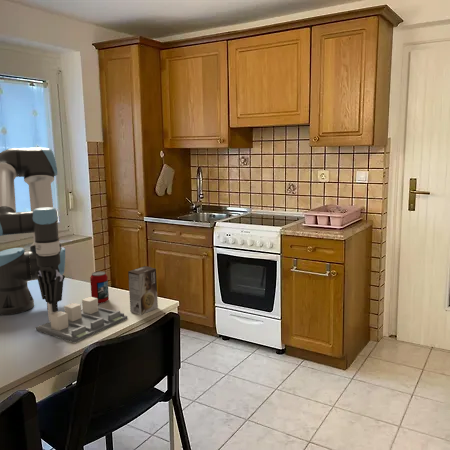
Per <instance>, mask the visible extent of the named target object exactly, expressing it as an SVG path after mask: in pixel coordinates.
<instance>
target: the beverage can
mask: <svg viewBox="0 0 450 450" xmlns="http://www.w3.org/2000/svg"><path fill="white" fill-rule="evenodd" d="M89 279H90V281H89V282H90V294H91V296H90V297H94V298H98V305H100V304H105V303H106V302H107V301H109V298H110V296H109V282H108V281H109V280H108V279H109V278H108V274H107V273H106V271H101V270H100V271H94V272H92V273H91V275H90V277H89Z"/></svg>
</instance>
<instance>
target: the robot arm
mask: <svg viewBox="0 0 450 450" xmlns="http://www.w3.org/2000/svg"><path fill="white" fill-rule="evenodd" d="M57 167H58V166H57V161H56V157H55V154H54V152H53V151H52V149H51V148H48V147H20V148H17V147H13V148H12V147H11V148H8V149H5V150H2V151H1V152H0V237H1V236H10V235H11V236H12V235H19V234H20V235H22V234H32V236H33V242H32V243H31V245H30V246H29V247H30V248H29V249H30V250H28V251H25V248H24V247H12V248H8V249H4V250H1V251H0V315H1V316H3V315H4V316H5V315H6V316H7V315H15V314H21V313H23V312H26V311H29V310H31V309H32V308H34V306H35V302H34V301H35V300H34V297H33V295H32V293H31V291H30V289H29V286H28V281H36V280H37V281H38V286H39V291H40V295H41V299H42V300H45V302H46V307H47V315H48V322H51V320H50V315H51V314H53V313H56V312H59V307H58V303H59V302H61V301H62V300H63V292H64V290H63V289H64V281H65V279H66V277H65V271H66V268H65V267H66V248H65V247H62V243H61V242H60V240H59V239H60V237H59V224H58V218H59V217H58V214H57V209H56V208H55V207H54V203H53V201H54V200H53V192H52V191H53V190H52V183H53V182H54V181H55V177H56V176H57V175H58V168H57ZM16 178H23V182H24V183H26V184H27V185H28V193H29V202H30V203H29V205H30V211H18V212H17V207H16V192H15V190H16V189H15V179H16Z"/></svg>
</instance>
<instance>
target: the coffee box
mask: <svg viewBox="0 0 450 450" xmlns="http://www.w3.org/2000/svg"><path fill="white" fill-rule="evenodd" d="M127 278H128V289H129V290H128V291H129V310H130V312H131V313H134V314H136V315H140V314H141V315H142V316H143V315H145V314H147V313H149V312H151V311H153V310H156V309H158V308H159V305H158V303H159V302H158V286H157V285H158V284H157V283H158V282H157V268H156V267H155V268H154V267H151V266H145V265H144V266H141V267H138V268H135V269H132V270H129V271H128V277H127ZM144 313H145V314H144Z"/></svg>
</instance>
